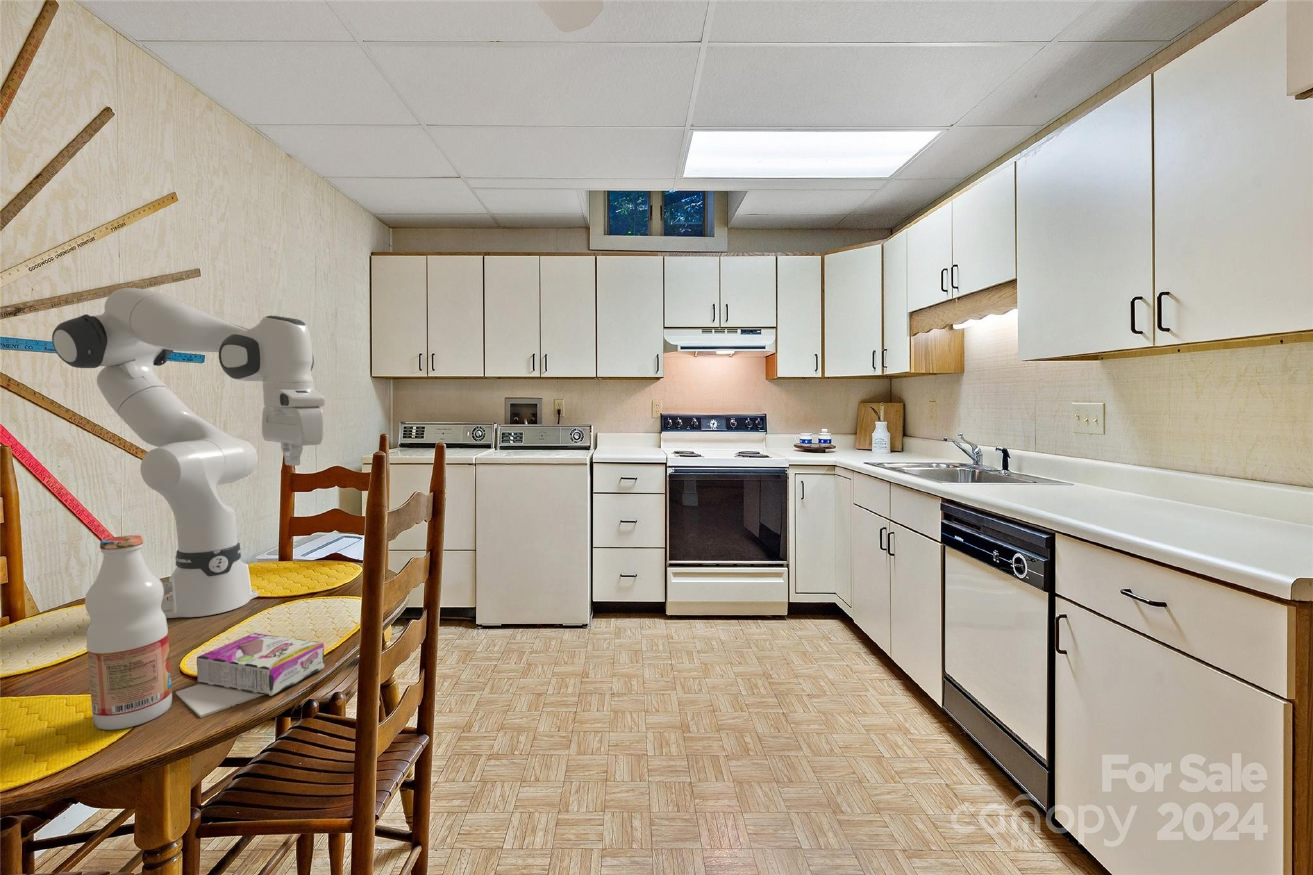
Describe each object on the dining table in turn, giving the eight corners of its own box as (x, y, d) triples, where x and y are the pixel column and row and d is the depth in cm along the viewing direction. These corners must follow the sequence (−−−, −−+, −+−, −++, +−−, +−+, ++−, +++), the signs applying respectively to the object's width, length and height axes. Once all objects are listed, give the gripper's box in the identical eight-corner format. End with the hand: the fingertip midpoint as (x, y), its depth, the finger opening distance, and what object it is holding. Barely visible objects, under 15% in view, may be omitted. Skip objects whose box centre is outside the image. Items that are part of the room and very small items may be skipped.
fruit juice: (75, 728, 91) (60, 545, 88) (139, 697, 100) (127, 530, 98) (128, 734, 89) (114, 548, 87) (188, 702, 98) (177, 532, 96)
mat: (175, 693, 101) (175, 691, 101) (269, 663, 112) (269, 661, 112) (200, 717, 94) (200, 715, 94) (297, 682, 105) (297, 680, 105)
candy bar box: (254, 630, 114) (325, 641, 109) (255, 656, 114) (326, 668, 110) (194, 655, 103) (270, 668, 99) (195, 683, 103) (271, 698, 99)
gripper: (251, 397, 126) (254, 462, 127) (294, 398, 114) (297, 470, 115) (284, 396, 131) (287, 460, 132) (329, 397, 119) (332, 467, 120)
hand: (292, 465), depth 124 cm, fingers closed
